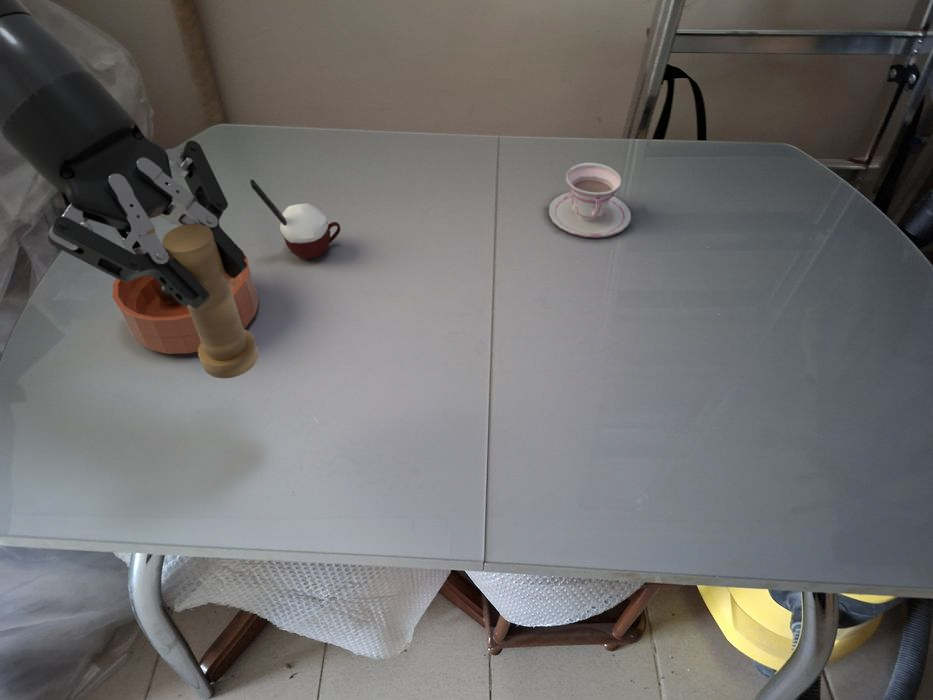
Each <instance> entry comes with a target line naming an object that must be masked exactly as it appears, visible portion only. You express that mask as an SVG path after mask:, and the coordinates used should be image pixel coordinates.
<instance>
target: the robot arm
mask: <svg viewBox="0 0 933 700" xmlns="http://www.w3.org/2000/svg"><path fill="white" fill-rule="evenodd" d="M0 136H1V137H2V138H3V140H5V141H6V142H7V143H8V144H9V145H10V146H11V147H12V148H13V149H14V150H15V151H16V153H18V155H20V156H21V157H22V158H23V159H24V161H26V162H27V163H28V164H29V165H30V166H31V167H32V168H33V170H35V171H36V172H37V173H38V175H39V176H41V177H42V178H43V180H45V181H46V182H47V184H48V185H50V186H52V187H53V188H54V189H56V190H57V192H59V194H60V196H61V198H62V201H63V204H64V206H65V208H66V210H65V211H64V212H63V214H62V215H61V216H58V217H56V218H55V219H54V220H53V222H52V225H51V228H50V230H49V232H48V234H47V241H48V243H49V244H50V245H51V246H53V247H55V248H57V249H59V250H60V251H63V252H65V253H67V254H69V255H70V256H73V257H74V258H76V259H78V260H80V261H82V262H83V263H86V264H87V265H90V266H91V267H93V268H96V269H98V270H99V271H101V272H103V273H105V274H107V275H109V276H112V277H113V278H115V279H116V278H117V279H119V280H121V281H123V282H130V281H132V280H133V279H135V278H139V277H142V276H151V277H153V278H155V279H156V280H157V281H158V282H159V283H160V284H161V285H162V286H163V287H164V288H165V289H166V290H167V291H168V292H169V293H170V294H171V295H172V296H173V297H174V298H175V299H176V300H177V301H178V302H179V303H180V304H182V305H184V306H186V307H187V306H188V305H190V306H192V307H193V308H195V309H198V308H199V307H200V306H201V305H202V304H204V303H205V302H206V301H207V300H208V299H209V298H210V295H209V293H208V292H207V291H206V290H205V289H204V288H203V287H202V286H201V284H200V283H199V282H198V281H197V280H196V279H195V278H194V277H193V276H192V275H191V274H190V273H189V272H188V271H187V270H186V269H185V268H184V267H183V266H182V265H181V264H180V263H179V262H178V261H177V260H176V259H175V258H174V259H173V260H172V261H171V260H170V259H169V255H168V253H167V251H166V250H165V248H164V247H163V244H162V242H161V241H160V239H159V237H158V235H157V234H156V228H155V225H154V223H153V221H152V220H151V219H153V218H157V217H161V218H162V219H163V220H165V221H166V222H167V223H169V224H171V225H176V226H178V227H179V226H183V225H187V224H201V225H205V226H207V227H209V228H210V229H211V231H212V233H213V236H214V239H215V242H216V245H217V248H218V251H219V254H220V257H221V260H222V264H223V267H224V270H225V272H226V273H227V274H228V275H229V276H230V277H231V278H236V277H237V276H238V275H239V274H240V273H242V272H243V271H244V270H245V269H246V268H247V263H246V262H245V261H244V260H245V259H246V257H247V256H246V254H245V252H244V251H243V250H242V249H241V247H239V246H238V244H236V242H234V240H233V239H232V238H231V237H230V236H229V235H228V234H227V233H226V232H225V230H223V229H222V227H221V225H220V219H221V217H222V215H223V213H224V211H226V210H227V208H228V207H229V202H228V200H227V198H226V196H225V194H224V192H223V190H222V188H221V186H220V183H219V182H218V180H217V177H216V175H215V173H214V171H213V169H212V166H211V165H210V163H209V161H208V158H207V157H206V154H205V152H204V150H203V148H202V146H201V145H200V143H199V142H197V141H195V140H188V141H187V142H186V143H185V145H184V146H182V147H173V148H166V149H165V148H164V147H162V145H160V144H158V143H157V142H154V141H152V140H151V139H149V138H147V136H145V135H144V134H143V132H142V131H141V128H139V126H138V123H137V122H136V121H135V119H134V118H133V117H132V115H130V114H129V112H127V110H126V109H125V108H124V107H123V106H122V105H121V104H120V103H119V102H118V101H117V99H115V98H114V96H113V95H112V94H111V93H110V92H109V91H108V89H106V87H104V86H103V84H102V83H101V82H100V81H99V80H98V78H96V77H95V76H94V75H93V73H92V72H91V71H90V70H89V69H88V68H87V67H86V66H85V65H84V64H83V63H82V61H81V60H80V59H79V58H78V57H77V56H76V55H75V54H74V53H73V52H72V51H71V49H69V48H68V47H67V45H65V44H64V42H62V41H61V40H60V39H59V38H58V37H57V36H56V35H54V34H53V33H52V32H51V31H50V30H49V29H47V27H45V26H44V25H43V24H42V23H41V22H40V21H39V20H38V19H37V18H36V16H34V15H33V13H31V12H30V10H29V9H28V8H27V7H26V6H25V5H24V4H23V3H22V2H21V1H20V0H0ZM171 168H172V169H173V170H174V171H175V172H176V175H177V176H178V177H179V178H184V181H185V183H186V185H187V187H188V190H187V189H186V188H185V187H183V186H182V185H181V184H179V183H178V182H177V181H176V180H174V179H173V176H172V171H171ZM173 203H174V204H173ZM86 220H88V221H91V222H95V223H98V224H102V225H105V226H108V227H111V228H112V230H113V232H114V234H116V236H117V238H118V239H119V241H120V242H121V244H122V245H123V247H122V246H121V245H120V244H119V245H118V244H117V243H115V242H114V241H111V240H110V239H108V238H106V237H104V236H102V235H101V234H99V233H97V232H95V231H94V228H93V226H92V225H91V224H90V223H89V222H88V221H86ZM245 256H246V257H245Z"/></svg>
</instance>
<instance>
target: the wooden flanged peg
mask: <svg viewBox="0 0 933 700" xmlns="http://www.w3.org/2000/svg"><path fill="white" fill-rule="evenodd" d="M161 244H162V245H163V247H164V248H165V250H166V251H167V253H168V255H169V259H170V260H171V261H172V260H173V259H174V258H175V259H176V260H177V261H178V262H179V263H180V264H181V265H182V266H183V267H184V268H185V269H186V270H187V271H188V272H189V273H190V274H191V275H192V276H193V277H194V278H195V279H196V280H197V281H198V282H199V283H200V284H201V286H202V287H203V288H204V289H205V290H206V291H207V292H208V293H209V295H210V298H209V299H208V300H207V301H206V302H205V303H204V304H202V305H201V306H200V307H199V308H198V309H195V308H193V307H192V306H190V305H188V306H187V307H188V310H189V312H190V315H191V318H192V320H193V323H194V325H195V328H196V330H197V333H198V335H199V338H200V340H201V344H200V345H199V348H198V351H197V355H198V358H199V361H200V363H201V365H202V368H203V370H204V371H205V373H207V374H208V375H210V376H211V377H213V378H217V379H233V378H236V377H239V376H242V375H244V374H245V373H248V371H250V370H251V369H252V368H253V367H254V366H255V365H256V364H257V361H258V360H259V356H260V355H259V349H258V346H257V343H256V339H255V337H254V335H253V334H252V333H251V332H250V331H248V330H247V329H246V328H243V325H242V322H241V319H240V316H239V313H238V310H237V307H236V304H235V301H234V297H233V294H232V291H231V288H230V285H229V282H228V279H227V276H226V273H225V270H224V267H223V264H222V260H221V257H220V254H219V251H218V248H217V245H216V242H215V239H214V236H213V233H212V231H211V229H210V228H209V227H207V226H205V225H201V224H187V225H183V226H179V225H178V226H177V227H174V228H172V229H170V230H169V231H168V232H167V233H166V234H165V235H164V236H163V238H162V242H161Z"/></svg>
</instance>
